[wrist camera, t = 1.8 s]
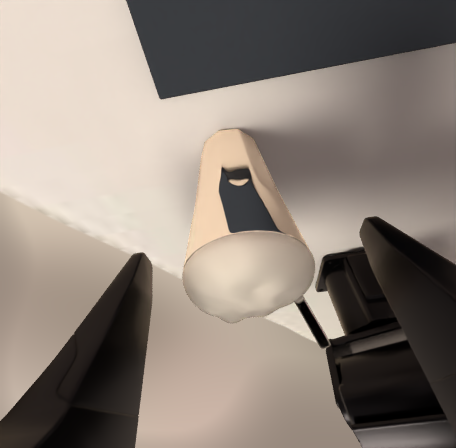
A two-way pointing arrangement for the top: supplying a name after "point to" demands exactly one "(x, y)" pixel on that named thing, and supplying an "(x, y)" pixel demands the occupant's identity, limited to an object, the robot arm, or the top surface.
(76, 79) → the top surface
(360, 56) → the mat
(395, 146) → the top surface
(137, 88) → the top surface
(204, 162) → the milkshake
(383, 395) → the robot arm
